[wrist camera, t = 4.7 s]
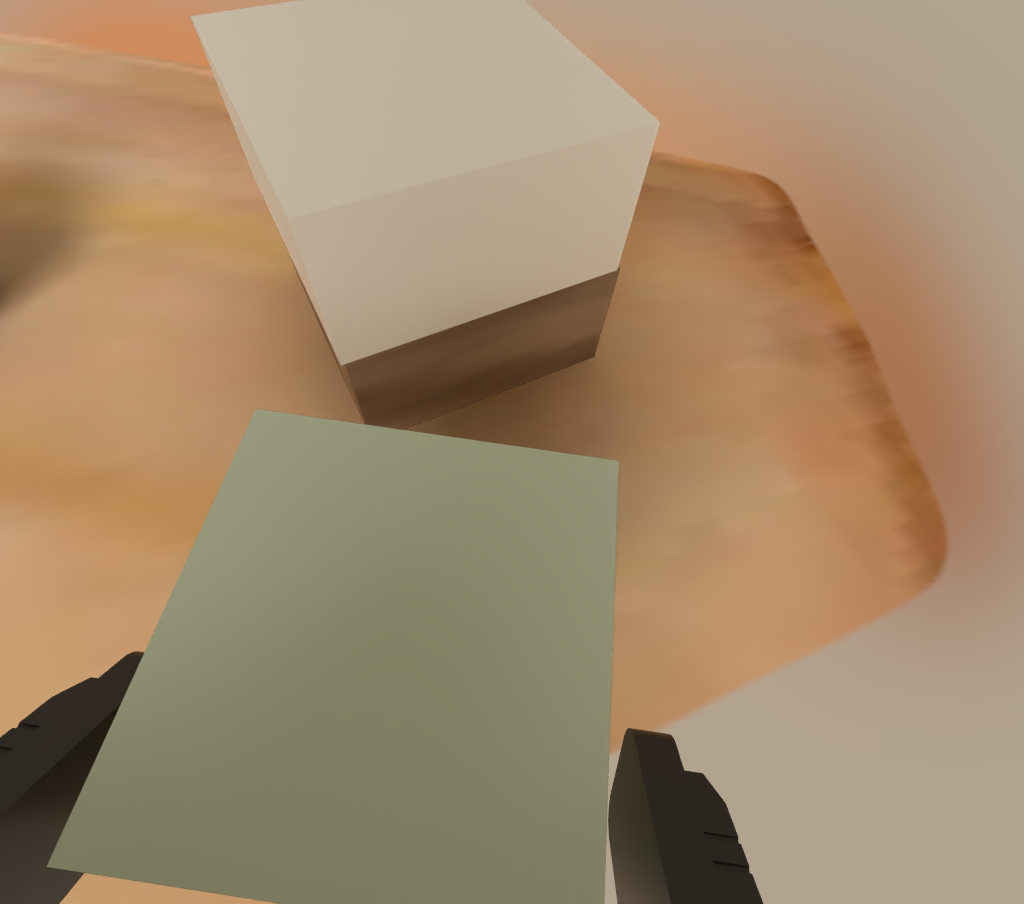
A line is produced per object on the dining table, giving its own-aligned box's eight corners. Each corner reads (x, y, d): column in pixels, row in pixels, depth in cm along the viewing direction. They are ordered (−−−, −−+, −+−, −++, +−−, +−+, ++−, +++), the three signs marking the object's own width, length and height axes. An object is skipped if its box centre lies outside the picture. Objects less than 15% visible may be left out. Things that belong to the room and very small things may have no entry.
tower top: (253, 176, 20) (190, 16, 15) (489, 121, 22) (492, -28, 18) (341, 365, 16) (288, 218, 11) (617, 269, 18) (660, 121, 14)
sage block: (525, 827, 14) (603, 954, 5) (308, 794, 14) (45, 867, 6) (547, 606, 17) (618, 460, 8) (367, 579, 17) (256, 408, 9)
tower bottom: (298, 276, 24) (258, 174, 20) (491, 222, 27) (494, 120, 23) (373, 444, 20) (344, 361, 16) (592, 359, 23) (619, 268, 18)
